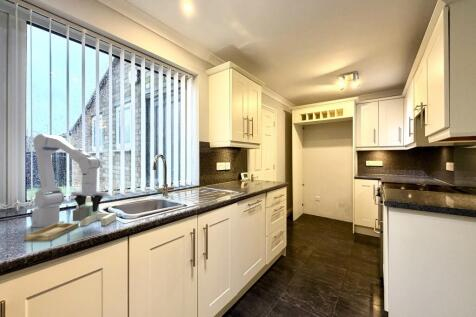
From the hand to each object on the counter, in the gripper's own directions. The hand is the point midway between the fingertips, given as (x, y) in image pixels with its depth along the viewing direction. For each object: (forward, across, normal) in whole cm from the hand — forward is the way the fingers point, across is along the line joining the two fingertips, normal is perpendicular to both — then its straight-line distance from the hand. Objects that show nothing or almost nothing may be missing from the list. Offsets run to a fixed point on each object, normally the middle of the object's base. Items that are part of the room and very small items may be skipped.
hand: (88, 211), depth 97 cm
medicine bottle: (+8, -12, +19) cm, 24 cm away
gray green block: (+2, 0, -2) cm, 3 cm away
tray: (+8, -10, -6) cm, 15 cm away
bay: (+8, 0, +9) cm, 12 cm away
